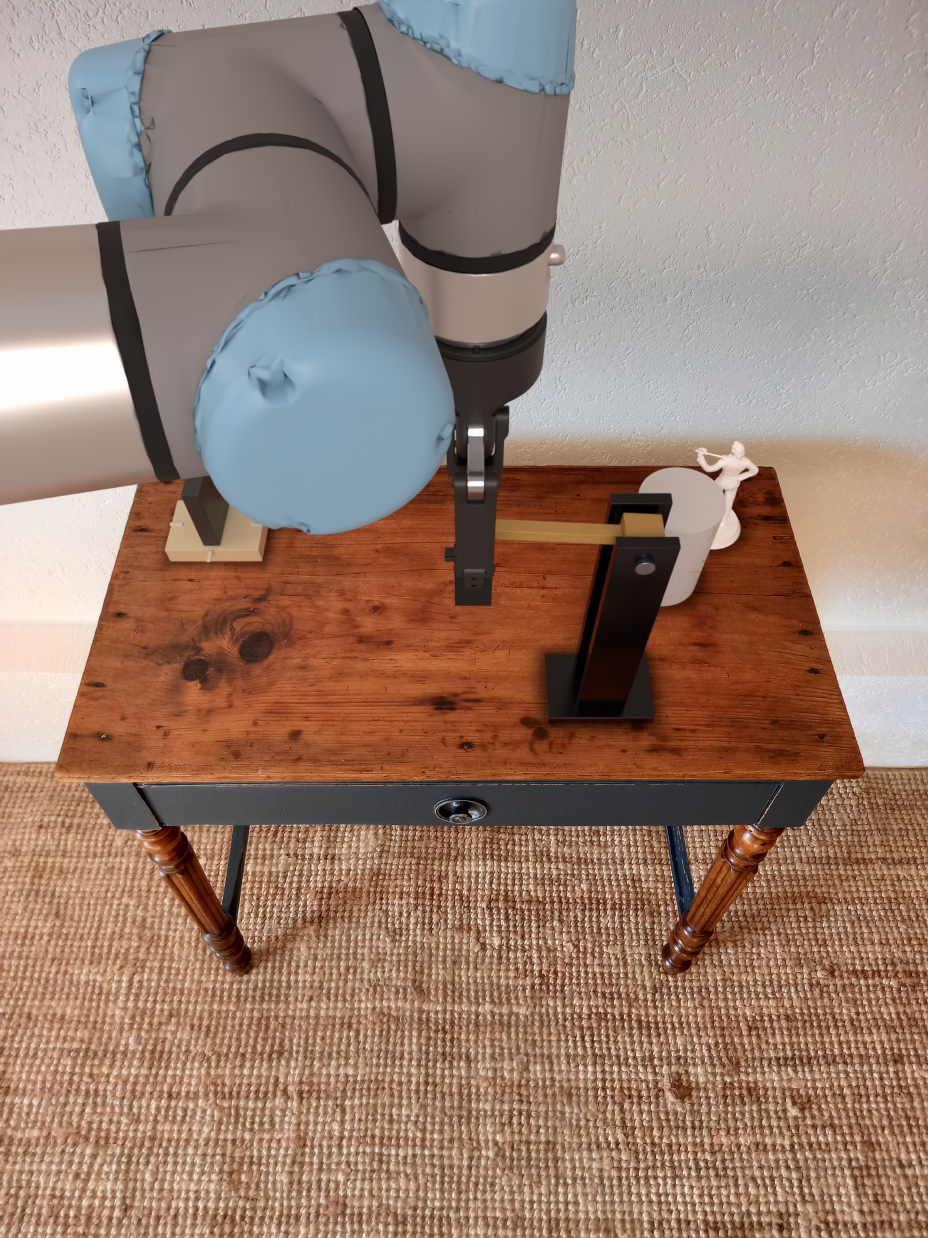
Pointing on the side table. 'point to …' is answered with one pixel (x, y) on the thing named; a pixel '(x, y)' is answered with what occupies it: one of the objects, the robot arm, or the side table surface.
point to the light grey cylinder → (688, 523)
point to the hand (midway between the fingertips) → (472, 570)
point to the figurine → (728, 488)
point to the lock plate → (236, 543)
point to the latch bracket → (615, 625)
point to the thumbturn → (205, 508)
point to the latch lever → (581, 530)
